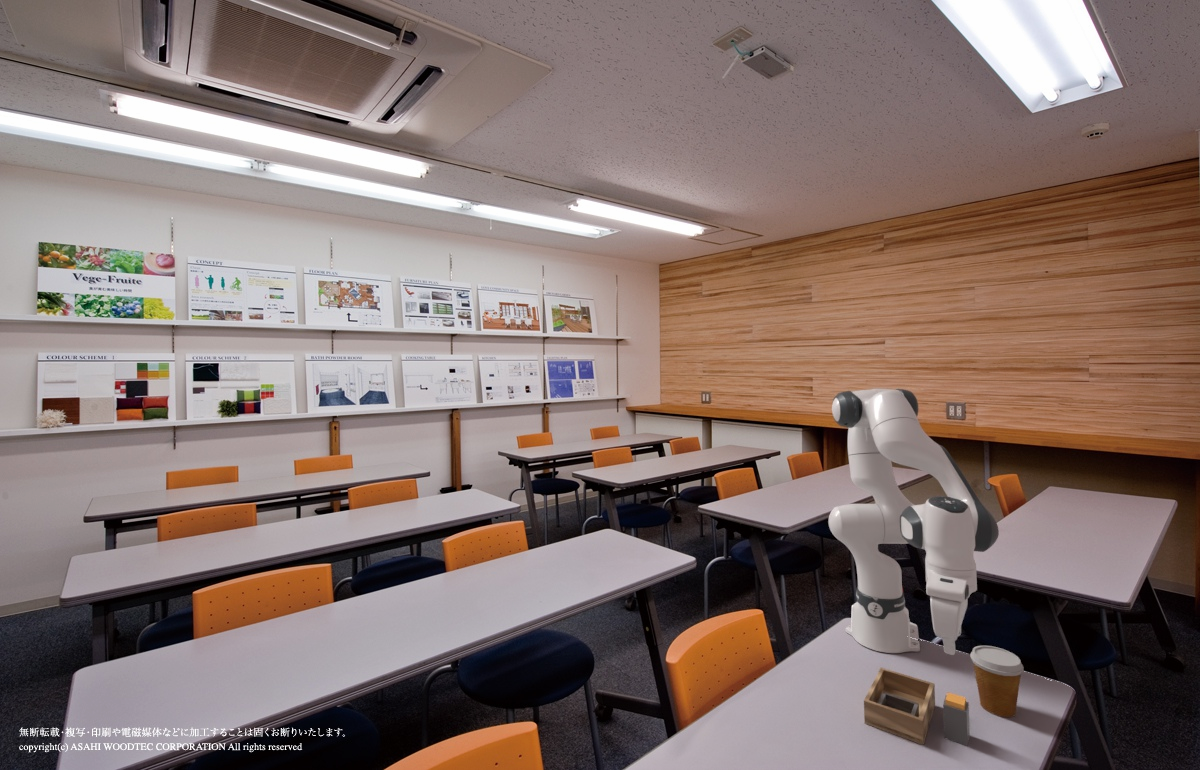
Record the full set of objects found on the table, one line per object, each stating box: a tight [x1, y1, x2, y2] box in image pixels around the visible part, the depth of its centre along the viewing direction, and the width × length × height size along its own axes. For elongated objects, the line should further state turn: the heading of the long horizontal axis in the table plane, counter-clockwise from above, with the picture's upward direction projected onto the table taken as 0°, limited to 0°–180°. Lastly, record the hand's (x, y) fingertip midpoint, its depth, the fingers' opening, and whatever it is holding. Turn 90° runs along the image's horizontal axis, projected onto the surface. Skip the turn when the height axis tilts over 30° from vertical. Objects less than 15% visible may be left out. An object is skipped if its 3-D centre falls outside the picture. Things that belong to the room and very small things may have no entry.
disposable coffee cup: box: [969, 645, 1024, 718], centre depth 116 cm, size 10×10×12 cm
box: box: [863, 667, 936, 746], centre depth 115 cm, size 16×11×5 cm
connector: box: [942, 692, 970, 747], centre depth 107 cm, size 4×4×8 cm
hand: (952, 643), depth 107 cm, fingers open, 8 cm apart
